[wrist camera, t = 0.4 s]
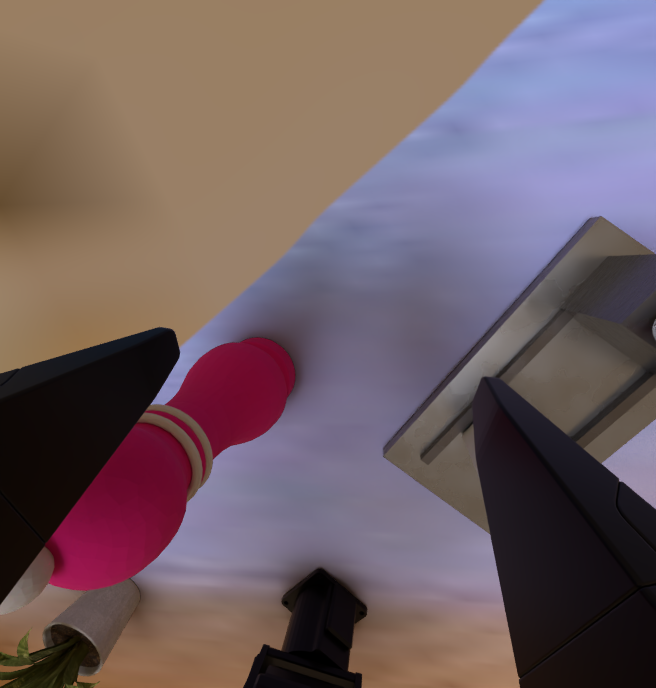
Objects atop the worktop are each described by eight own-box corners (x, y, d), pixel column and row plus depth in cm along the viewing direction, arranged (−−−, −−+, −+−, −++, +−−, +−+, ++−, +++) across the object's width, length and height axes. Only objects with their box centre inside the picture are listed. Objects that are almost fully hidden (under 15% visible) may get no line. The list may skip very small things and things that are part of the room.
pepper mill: (290, 324, 26) (27, 483, 7) (309, 405, 28) (130, 717, 9) (213, 338, 28) (-169, 498, 9) (234, 414, 29) (-54, 692, 10)
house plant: (145, 526, 35) (-52, 736, 19) (200, 625, 37) (62, 886, 21) (55, 546, 39) (-171, 737, 23) (110, 635, 41) (-63, 865, 25)
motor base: (498, 531, 27) (571, 715, 16) (383, 448, 27) (378, 573, 16) (742, 326, 21) (1152, 399, 10) (589, 218, 21) (817, 166, 10)
